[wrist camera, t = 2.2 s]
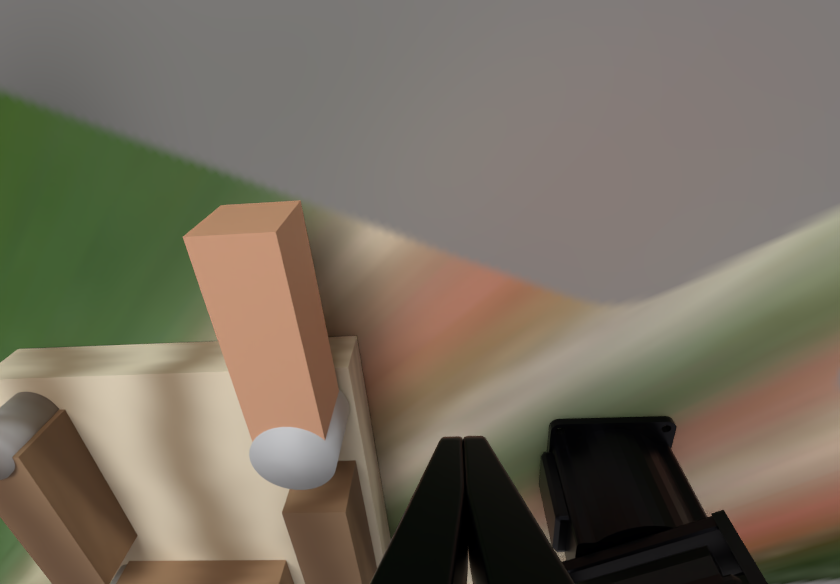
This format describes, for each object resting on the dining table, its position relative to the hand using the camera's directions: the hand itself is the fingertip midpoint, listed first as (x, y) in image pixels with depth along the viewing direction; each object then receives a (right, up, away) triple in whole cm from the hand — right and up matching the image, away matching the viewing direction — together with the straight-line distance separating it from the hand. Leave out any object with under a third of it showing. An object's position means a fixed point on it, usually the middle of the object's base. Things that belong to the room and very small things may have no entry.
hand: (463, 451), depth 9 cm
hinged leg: (-6, +1, +11) cm, 13 cm away
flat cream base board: (-12, -7, +20) cm, 24 cm away
